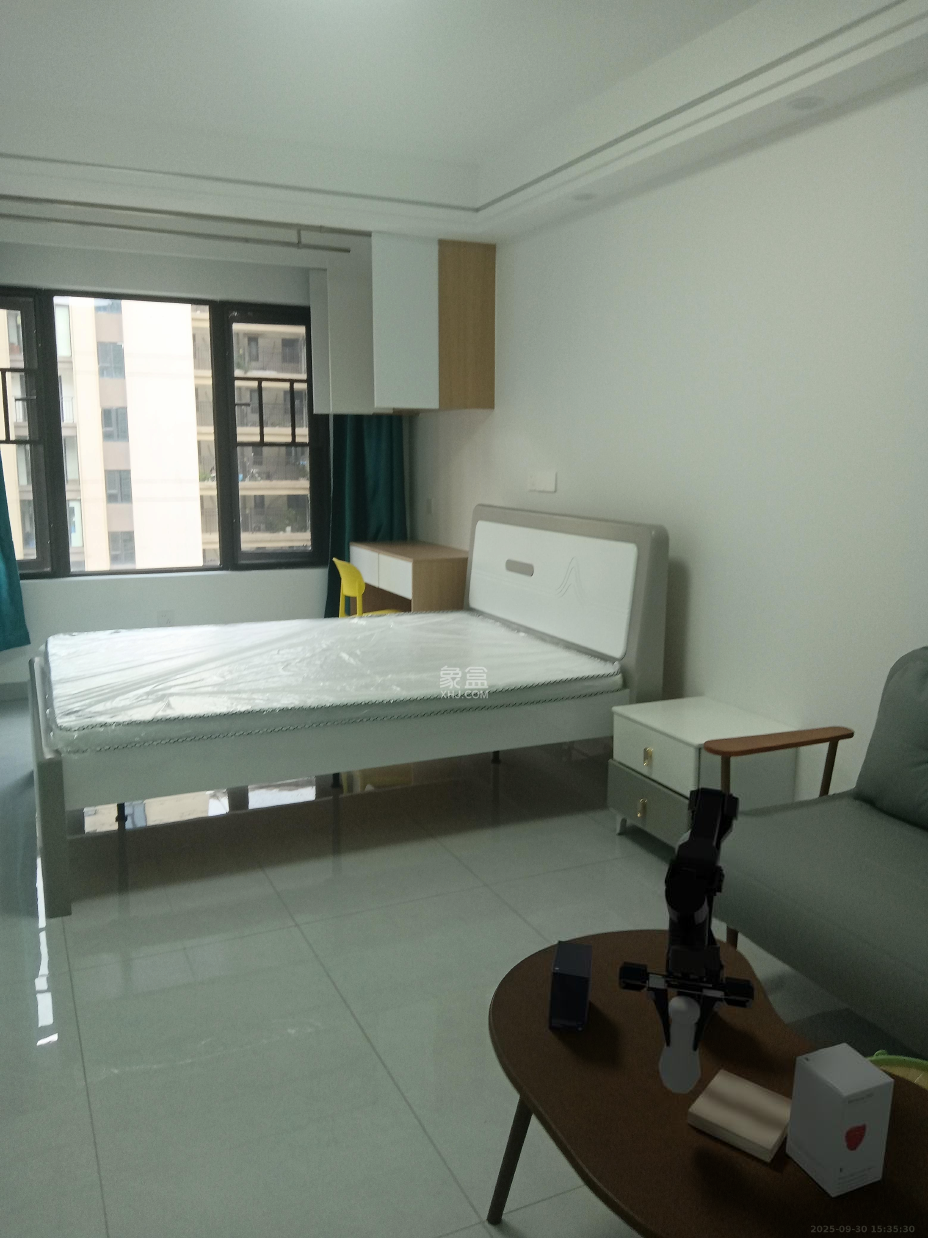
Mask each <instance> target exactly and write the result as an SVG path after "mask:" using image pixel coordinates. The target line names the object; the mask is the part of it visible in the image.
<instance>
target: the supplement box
mask: <svg viewBox="0 0 928 1238" xmlns="http://www.w3.org/2000/svg"><path fill="white" fill-rule="evenodd" d="M794 1069H795V1070H794V1080H793V1087H792V1095H791V1100H792V1102H791V1111H790V1119H789V1128H788V1134H787V1135H786V1137H787V1138H786V1144H785V1145H786V1146H785V1153H786V1154H787V1155H788V1156H789V1157H790V1158H791V1159H792V1160H793V1161H794V1162H796V1164H798V1165H799V1167H800V1168H802V1169H803V1170H804V1171H805V1172H806V1174H808V1176H810V1177H811V1178H812V1179H813V1180H814V1181H815V1182H816V1183H817V1184H818V1185H819V1186H820V1187H821V1188H822V1189H824V1190H825V1192H826V1193H828V1195H829V1196H831V1197H832V1198H835V1197H838V1196H840V1195H844V1194H845V1193H849V1192H851V1191H854V1190H856V1189H859V1188H862V1187H864V1186H866V1185H870V1184H871V1183H874V1182H878V1181H880V1180H882V1178H883V1169H884V1159H885V1154H886V1144H887V1140H888V1139H887V1137H888V1129H889V1123H890V1116H891V1108H892V1100H893V1093H894V1085H895V1079H893V1078H891V1076H890V1075H888V1074H887V1073H885V1072H884V1071H883V1070H882V1069H880V1068H878V1067H877V1066H876V1065H875V1064H873V1063H872V1062H871V1061H869V1060H868V1059H867V1058H866V1057H864V1056H863V1055H861V1054H860V1053H859V1052H858V1051H857V1050H855V1049H854V1047H851V1046H850V1045H849V1044H847V1043H846V1042H844V1043H840V1044H837V1045H833V1046H830V1047H825V1048H820V1049H817V1050H815V1051H813V1052H810V1053H806V1054H802V1055H800V1056H796V1062H795V1068H794Z"/></svg>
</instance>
